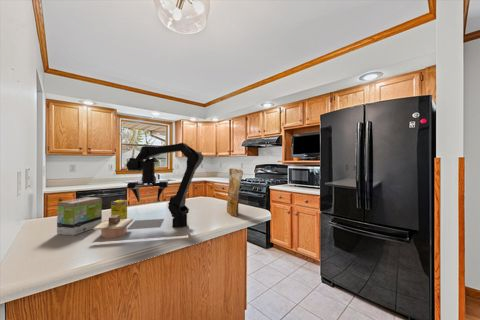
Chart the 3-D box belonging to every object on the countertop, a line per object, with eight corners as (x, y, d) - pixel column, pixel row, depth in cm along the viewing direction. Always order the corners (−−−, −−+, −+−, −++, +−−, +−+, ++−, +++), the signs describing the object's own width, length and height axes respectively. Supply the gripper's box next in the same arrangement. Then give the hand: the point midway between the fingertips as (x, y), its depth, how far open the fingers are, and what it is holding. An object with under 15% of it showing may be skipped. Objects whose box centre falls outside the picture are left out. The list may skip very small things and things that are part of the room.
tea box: (74, 236, 95) (74, 202, 95) (56, 234, 97) (56, 202, 97) (102, 225, 110) (102, 197, 110) (86, 224, 112) (86, 196, 112)
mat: (164, 220, 119) (164, 218, 119) (160, 229, 104) (160, 227, 104) (135, 222, 116) (135, 220, 116) (126, 231, 101) (126, 229, 101)
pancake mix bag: (233, 209, 145) (233, 168, 145) (243, 216, 127) (243, 169, 127) (224, 210, 143) (224, 168, 143) (233, 217, 125) (233, 169, 125)
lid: (132, 220, 102) (132, 212, 102) (125, 228, 91) (125, 219, 91) (104, 221, 100) (104, 213, 100) (93, 230, 88) (93, 221, 88)
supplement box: (121, 222, 116) (121, 202, 116) (110, 222, 116) (110, 202, 116) (127, 219, 122) (127, 199, 122) (117, 219, 122) (117, 199, 122)
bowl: (128, 232, 100) (128, 221, 100) (122, 239, 92) (122, 227, 92) (107, 233, 98) (107, 222, 98) (98, 240, 90) (98, 228, 90)
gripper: (169, 170, 119) (169, 198, 119) (133, 170, 115) (133, 199, 115) (166, 171, 108) (167, 202, 108) (126, 171, 104) (126, 203, 104)
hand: (148, 201), depth 109 cm, fingers open, 9 cm apart
